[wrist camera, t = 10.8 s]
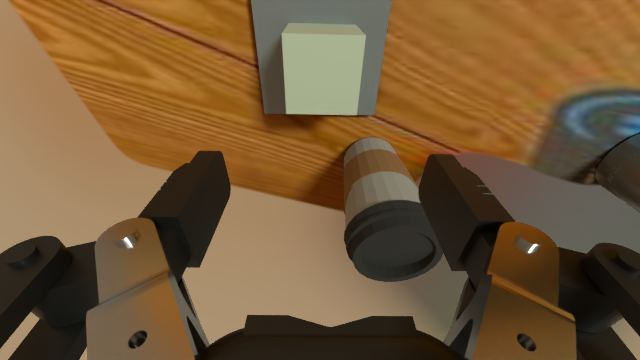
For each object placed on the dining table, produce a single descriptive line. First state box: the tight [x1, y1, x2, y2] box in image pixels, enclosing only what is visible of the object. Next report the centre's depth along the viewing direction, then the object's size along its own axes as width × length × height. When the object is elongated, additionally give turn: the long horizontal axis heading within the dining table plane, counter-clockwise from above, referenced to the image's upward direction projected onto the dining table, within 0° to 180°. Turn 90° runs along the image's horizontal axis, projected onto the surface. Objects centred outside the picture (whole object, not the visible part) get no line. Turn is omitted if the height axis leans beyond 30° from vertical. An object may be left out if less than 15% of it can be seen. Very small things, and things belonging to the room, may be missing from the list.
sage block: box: [282, 23, 366, 115], centre depth 23 cm, size 6×6×6 cm
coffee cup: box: [343, 137, 443, 282], centre depth 27 cm, size 8×8×15 cm
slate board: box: [251, 0, 391, 115], centre depth 25 cm, size 12×11×1 cm
